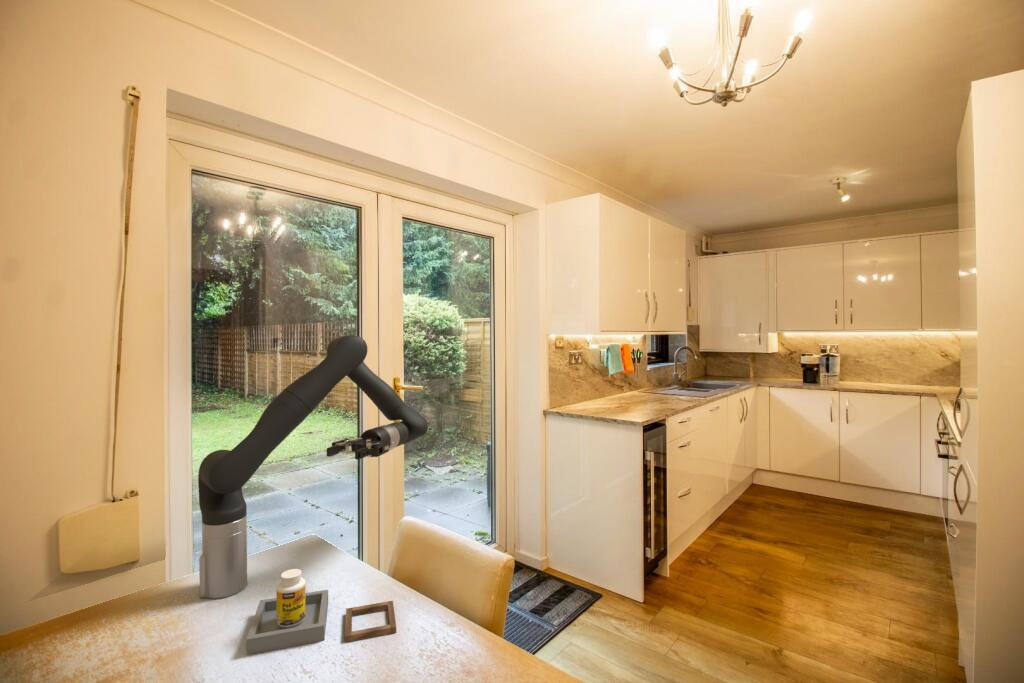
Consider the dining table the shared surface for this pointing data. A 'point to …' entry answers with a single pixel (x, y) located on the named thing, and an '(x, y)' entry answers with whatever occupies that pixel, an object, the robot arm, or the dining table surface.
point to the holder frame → (373, 631)
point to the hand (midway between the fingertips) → (341, 454)
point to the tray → (274, 637)
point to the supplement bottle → (290, 599)
